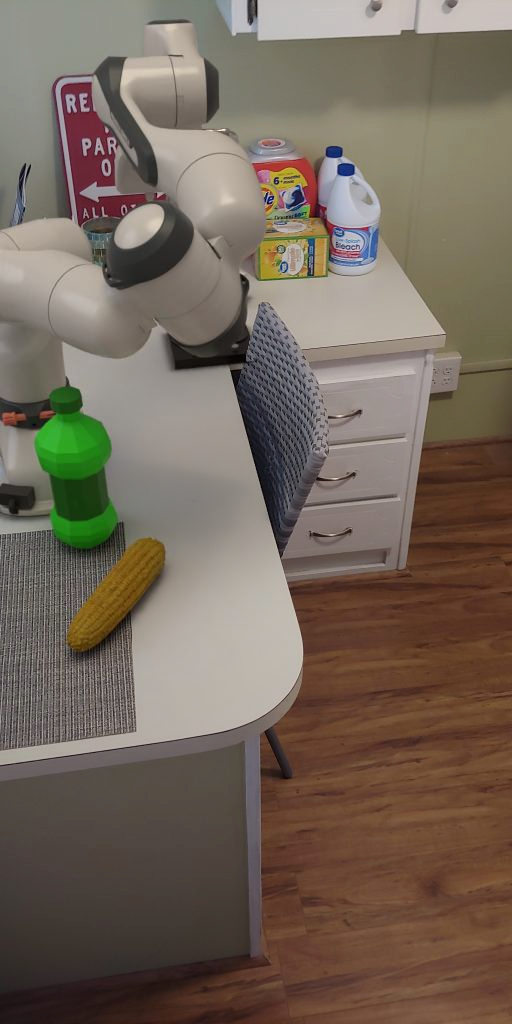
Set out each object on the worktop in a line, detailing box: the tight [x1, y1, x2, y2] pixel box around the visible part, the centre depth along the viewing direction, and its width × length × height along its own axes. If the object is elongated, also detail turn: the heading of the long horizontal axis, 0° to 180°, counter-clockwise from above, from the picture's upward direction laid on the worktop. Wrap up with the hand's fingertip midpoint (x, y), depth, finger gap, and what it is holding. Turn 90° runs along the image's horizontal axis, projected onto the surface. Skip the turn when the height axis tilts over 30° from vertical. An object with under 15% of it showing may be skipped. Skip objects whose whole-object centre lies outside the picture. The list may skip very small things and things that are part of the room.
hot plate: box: [165, 323, 252, 370], centre depth 183 cm, size 14×16×3 cm
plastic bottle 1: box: [34, 386, 119, 550], centre depth 131 cm, size 10×10×25 cm
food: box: [65, 536, 167, 653], centre depth 125 cm, size 21×6×6 cm, turn 156°
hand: (178, 215), depth 157 cm, fingers closed on plastic bottle 2, 6 cm apart
